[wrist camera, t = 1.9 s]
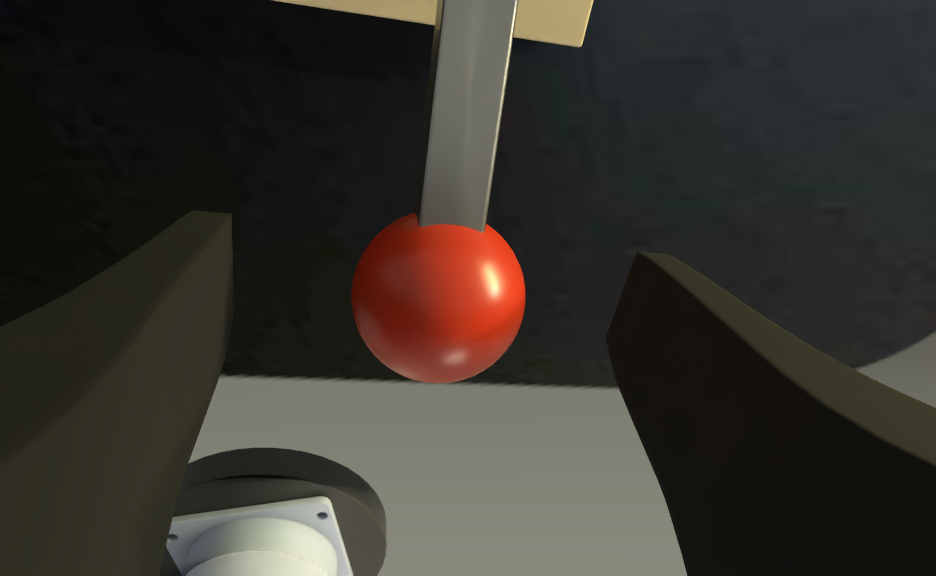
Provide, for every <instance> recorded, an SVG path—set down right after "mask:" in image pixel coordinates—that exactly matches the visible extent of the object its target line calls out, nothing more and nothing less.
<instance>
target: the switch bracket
mask: <svg viewBox="0 0 936 576" xmlns="http://www.w3.org/2000/svg"><path fill="white" fill-rule="evenodd" d="M273 1H279V2H286V3H292V4H299V5H306V6H312V7H319V8H325V9H332V10H338V11H345V12H351V13H358V14H364V15H371V16H378V17H384V18H391V19H397V20H404V21H410V22H417V23H423V24H430V25H435V18H436V9H437V0H273ZM592 4H593V0H519V1H518V8H517V14H516V21H515V28H514V35H513V37H515V38H522V39H528V40H535V41H541V42H548V43H554V44H561V45H567V46H574V47H581V45H582V43H583V39H584V35H585V31H586V27H587V23H588V19H589V15H590V12H591V8H592Z"/></svg>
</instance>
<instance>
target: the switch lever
mask: <svg viewBox="0 0 936 576" xmlns="http://www.w3.org/2000/svg"><path fill="white" fill-rule="evenodd" d="M518 1H519V0H437V9H436V18H435V27H434V36H433V45H432V54H431V63H430V72H429V81H428V91H427V100H426V109H425V118H424V127H423V136H422V145H421V154H420V163H419V172H418V181H417V190H416V199H415V208H414V213H413V214H410V215H407V216H404V217H402V218H400V219H398V220H396V221H395V222H393V223H391V224H390V225H389V226H387V227H386V228H384V229H383V230H382V231H381V232H380V233H379V234H378V235H377V236H376V237H375V238H374V239H373V240H372V241H371V243H370V244H369V245H368V246H367V248H366V250H365V251H364V253H363V254H362V256H361V258H360V260H359V263H358V265H357V268H356V271H355V275H354V279H353V285H352V308H353V314H354V318H355V322H356V326H357V328H358V330H359V332H360V335H361V337H362V338H363V340H364V342H365V343H366V345H367V346H368V348H369V349H370V350H371V352H372V353H373V354H374V355H375V356H376V357H377V358H378V359H379V360H380V361H381V362H382V363H383V364H385V365H386V366H387V367H389V368H390V369H392V370H393V371H395V372H397V373H399V374H400V375H402V376H405V377H407V378H410V379H413V380H417V381H421V382H428V383H450V382H456V381H460V380H464V379H467V378H469V377H472V376H475V375H476V374H478V373H480V372H482V371H484V370H485V369H487V368H488V367H490V366H491V365H492V364H493V363H495V362H496V361H497V360H498V359H499V358H500V357H501V356H502V355H503V354H504V353H505V352H506V351H507V349H508V348H509V346H510V345H511V344H512V342H513V340H514V338H515V337H516V335H517V333H518V330H519V328H520V325H521V322H522V318H523V314H524V309H525V285H524V279H523V274H522V271H521V268H520V265H519V263H518V261H517V259H516V256H515V254H514V253H513V251H512V249H511V248H510V246H509V245H508V243H507V242H506V241H505V240H504V239H503V238H502V237H501V236H500V235H499V234H498V233H497V232H496V231H495V230H494V229H492V228H491V227H490V226H489V225H487V224H486V220H487V213H488V206H489V199H490V192H491V185H492V179H493V172H494V165H495V158H496V151H497V144H498V138H499V131H500V124H501V117H502V110H503V103H504V96H505V90H506V83H507V76H508V69H509V62H510V55H511V49H512V42H513V35H514V28H515V21H516V14H517V8H518Z"/></svg>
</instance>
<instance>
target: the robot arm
mask: <svg viewBox="0 0 936 576" xmlns="http://www.w3.org/2000/svg"><path fill="white" fill-rule="evenodd" d="M233 317H234V288H233V255H232V222H231V214H227V213H216V212H205V211H194V210H192V211H191V212H189V213H187V214H186V215H184V216H183V217H182V218H180V219H179V220H177V221H176V222H175V223H173V224H172V225H171V226H169V227H168V228H166V229H165V230H164V231H162V232H161V233H160V234H158V235H157V236H155V237H154V238H153V239H151V240H150V241H148V242H147V243H145V244H144V245H143V246H141V247H140V248H138V249H137V250H135V251H134V252H132V253H131V254H130V255H128V256H127V257H125V258H124V259H122V260H121V261H119V262H118V263H116V264H115V265H113V266H111V267H110V268H108V269H106V270H105V271H103V272H101V273H100V274H98V275H96V276H95V277H93V278H92V279H90V280H88V281H87V282H85V283H83V284H82V285H80V286H78V287H77V288H75V289H74V290H72V291H70V292H68V293H67V294H65V295H63V296H61V297H59V298H57V299H56V300H54V301H52V302H50V303H48V304H46V305H44V306H42V307H40V308H38V309H36V310H34V311H32V312H30V313H28V314H26V315H24V316H21V317H19V318H17V319H15V320H13V321H11V322H9V323H7V324H5V325H2V326H0V576H159V573H160V568H161V564H162V560H163V555H164V551H165V547H166V548H167V549H168V551H169V553H170V555H171V557H172V558H173V560H174V562H175V564H176V565H177V567H178V569H179V571H180V572H181V574H182V576H353V572H352V569H351V566H350V562H349V559H348V556H347V553H346V549H345V546H344V543H343V539H342V536H341V533H340V530H339V526H338V523H337V520H336V517H335V513H334V510H333V507H332V503H331V501H330V499H328V498H327V497H324V496H316V497H309V498H302V499H295V500H288V501H281V502H274V503H267V504H260V505H253V506H246V507H239V508H232V509H225V510H217V511H210V512H203V513H196V514H189V515H182V516H175V517H173V513H174V509H175V505H176V501H177V497H178V493H179V490H180V487H181V483H182V480H183V477H184V474H185V471H186V468H187V465H188V462H189V460H190V457H191V454H192V451H193V448H194V446H195V443H196V440H197V437H198V435H199V432H200V429H201V426H202V424H203V421H204V418H205V415H206V412H207V410H208V407H209V404H210V401H211V398H212V396H213V393H214V390H215V387H216V384H217V382H218V379H219V376H220V373H221V370H222V367H223V364H224V361H225V356H226V352H227V347H228V342H229V338H230V333H231V327H232V322H233ZM606 341H607V345H608V350H609V354H610V358H611V363H612V366H613V370H614V374H615V377H616V381H617V384H618V387H619V389H620V392H621V394H622V397H623V399H624V401H625V404H626V406H627V409H628V411H629V413H630V416H631V418H632V421H633V423H634V425H635V428H636V430H637V432H638V435H639V437H640V439H641V442H642V444H643V447H644V449H645V451H646V453H647V456H648V458H649V460H650V463H651V465H652V467H653V470H654V472H655V475H656V477H657V479H658V482H659V484H660V487H661V490H662V492H663V495H664V497H665V500H666V503H667V506H668V509H669V513H670V516H671V519H672V523H673V526H674V529H675V533H676V536H677V540H678V543H679V546H680V549H681V553H682V557H683V560H684V564H685V568H686V572H687V576H936V408H935V407H932V406H930V405H928V404H926V403H923V402H921V401H919V400H916V399H914V398H912V397H910V396H908V395H905V394H903V393H901V392H899V391H896V390H894V389H892V388H890V387H888V386H885V385H884V384H882V383H879V382H877V381H875V380H873V379H871V378H869V377H867V376H865V375H863V374H862V373H860V372H858V371H856V370H854V369H852V368H850V367H848V366H846V365H844V364H843V363H841V362H839V361H837V360H835V359H833V358H831V357H829V356H828V355H826V354H824V353H822V352H821V351H819V350H817V349H815V348H814V347H812V346H810V345H809V344H807V343H805V342H804V341H802V340H800V339H799V338H797V337H796V336H794V335H792V334H791V333H789V332H787V331H786V330H784V329H783V328H781V327H779V326H778V325H776V324H775V323H773V322H772V321H770V320H769V319H767V318H766V317H764V316H762V315H761V314H759V313H758V312H756V311H755V310H753V309H752V308H751V307H749V306H748V305H746V304H745V303H743V302H742V301H740V300H739V299H737V298H736V297H734V296H733V295H731V294H730V293H728V292H727V291H726V290H724V289H723V288H721V287H720V286H718V285H717V284H715V283H714V282H712V281H711V280H709V279H708V278H706V277H705V276H703V275H702V274H700V273H699V272H697V271H696V270H694V269H693V268H691V267H690V266H688V265H686V264H685V263H683V262H681V261H680V260H678V259H676V258H674V257H672V256H670V255H668V254H659V253H648V252H637V253H636V256H635V259H634V262H633V264H632V267H631V270H630V273H629V275H628V278H627V281H626V284H625V286H624V289H623V292H622V295H621V297H620V300H619V303H618V306H617V308H616V311H615V314H614V317H613V319H612V322H611V325H610V328H609V331H608V333H607V336H606Z"/></svg>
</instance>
